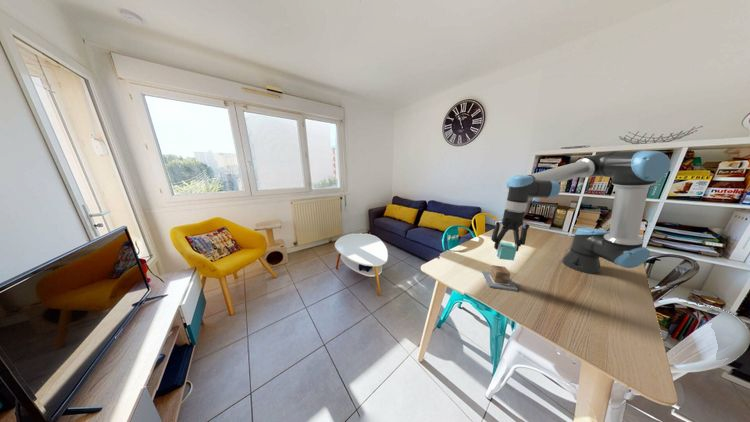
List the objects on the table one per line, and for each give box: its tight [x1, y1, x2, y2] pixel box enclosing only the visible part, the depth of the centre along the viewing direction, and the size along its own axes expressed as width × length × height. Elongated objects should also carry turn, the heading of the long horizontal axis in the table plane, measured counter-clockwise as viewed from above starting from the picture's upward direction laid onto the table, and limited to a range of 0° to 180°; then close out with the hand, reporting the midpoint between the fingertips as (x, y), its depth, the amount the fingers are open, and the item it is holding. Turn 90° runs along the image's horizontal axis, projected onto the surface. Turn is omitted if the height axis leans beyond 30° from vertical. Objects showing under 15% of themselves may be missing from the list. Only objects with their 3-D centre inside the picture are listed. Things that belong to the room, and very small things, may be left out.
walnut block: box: [490, 264, 511, 284], centre depth 95 cm, size 6×6×6 cm
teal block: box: [497, 241, 517, 262], centre depth 92 cm, size 6×6×6 cm
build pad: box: [481, 270, 519, 292], centre depth 96 cm, size 12×12×1 cm
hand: (504, 255), depth 92 cm, fingers closed on teal block, 6 cm apart
